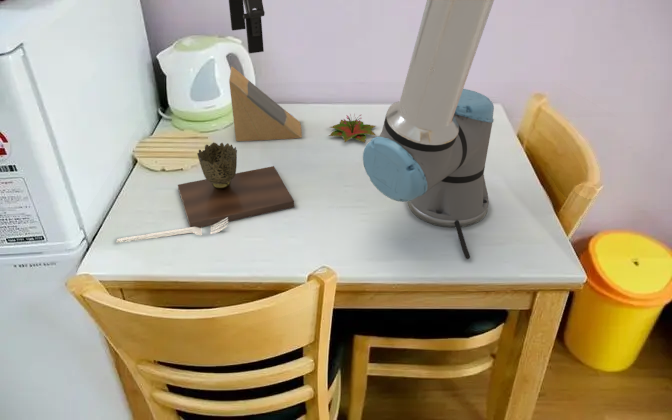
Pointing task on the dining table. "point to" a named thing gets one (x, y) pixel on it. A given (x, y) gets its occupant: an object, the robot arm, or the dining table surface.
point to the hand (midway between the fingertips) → (246, 40)
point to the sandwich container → (258, 113)
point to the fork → (177, 232)
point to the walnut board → (235, 197)
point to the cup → (218, 164)
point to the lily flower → (352, 130)
